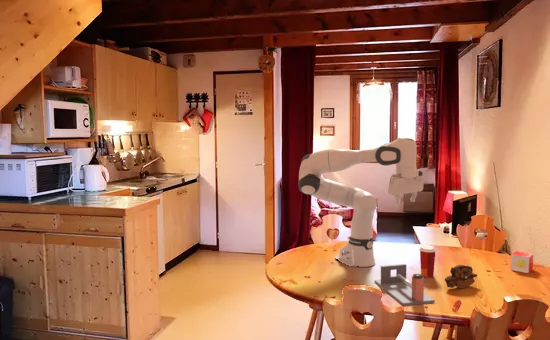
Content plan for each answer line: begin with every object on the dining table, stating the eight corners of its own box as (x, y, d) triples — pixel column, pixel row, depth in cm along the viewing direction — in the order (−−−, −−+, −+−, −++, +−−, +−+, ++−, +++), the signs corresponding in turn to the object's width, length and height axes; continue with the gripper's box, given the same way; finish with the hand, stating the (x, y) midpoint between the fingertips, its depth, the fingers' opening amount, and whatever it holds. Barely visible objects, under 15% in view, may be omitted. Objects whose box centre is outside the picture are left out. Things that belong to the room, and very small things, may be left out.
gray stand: (374, 282, 208) (374, 263, 207) (402, 279, 210) (402, 261, 209) (403, 305, 180) (403, 283, 179) (434, 302, 183) (435, 281, 182)
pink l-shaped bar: (394, 285, 199) (394, 263, 198) (402, 285, 200) (402, 262, 199) (415, 301, 180) (415, 277, 179) (424, 301, 181) (424, 276, 180)
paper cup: (435, 273, 218) (436, 245, 216) (435, 279, 210) (436, 250, 209) (418, 272, 220) (419, 244, 219) (418, 277, 213) (418, 248, 212)
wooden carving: (451, 292, 194) (451, 270, 193) (443, 288, 198) (444, 267, 197) (479, 286, 200) (479, 264, 199) (471, 283, 204) (471, 261, 203)
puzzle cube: (510, 270, 222) (511, 254, 221) (515, 266, 228) (515, 251, 227) (528, 273, 217) (529, 257, 216) (532, 269, 222) (533, 253, 222)
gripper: (396, 175, 194) (395, 206, 196) (426, 171, 206) (425, 201, 207) (385, 174, 200) (384, 204, 201) (414, 170, 211) (414, 199, 212)
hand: (405, 202), depth 204 cm, fingers open, 8 cm apart
